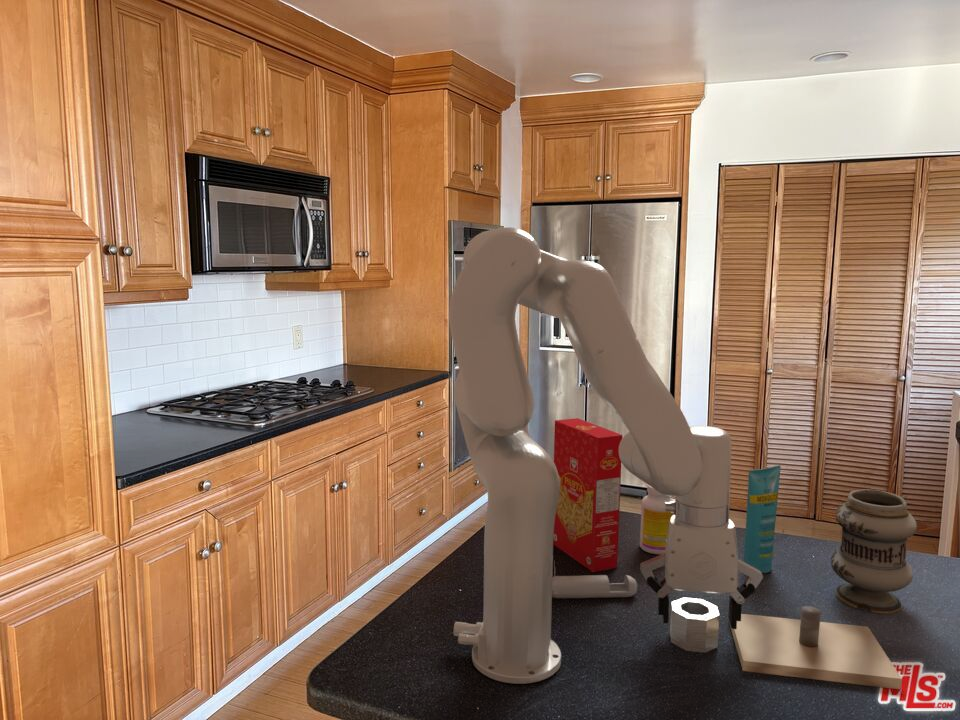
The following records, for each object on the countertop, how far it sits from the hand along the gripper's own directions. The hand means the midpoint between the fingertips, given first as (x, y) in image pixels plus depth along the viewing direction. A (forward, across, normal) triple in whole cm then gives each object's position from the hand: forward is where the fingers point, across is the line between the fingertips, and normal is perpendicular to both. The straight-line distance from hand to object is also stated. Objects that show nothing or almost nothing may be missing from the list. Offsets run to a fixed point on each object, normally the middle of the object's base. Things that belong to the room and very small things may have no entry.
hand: (698, 621), depth 107 cm
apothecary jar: (+4, +29, +20) cm, 35 cm away
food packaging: (+3, -19, +28) cm, 34 cm away
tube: (+4, +13, +29) cm, 32 cm away
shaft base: (+3, +15, 0) cm, 16 cm away
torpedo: (+3, -18, +11) cm, 21 cm away
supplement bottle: (+3, -5, +34) cm, 34 cm away
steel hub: (+3, -1, 0) cm, 3 cm away
